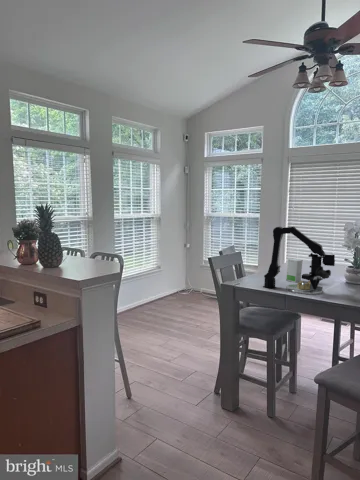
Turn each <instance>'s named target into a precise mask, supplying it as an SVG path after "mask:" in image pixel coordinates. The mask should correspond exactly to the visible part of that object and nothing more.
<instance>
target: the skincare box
mask: <svg viewBox="0 0 360 480" xmlns="http://www.w3.org/2000/svg"><path fill="white" fill-rule="evenodd" d="M286 265H287V266H286V277H285V281H288V282H292V283H298V282H300V281H302V280H301V279H302V269H303V259H298V258H287V264H286Z"/></svg>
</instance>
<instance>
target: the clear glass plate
mask: <svg viewBox="0 0 360 480" xmlns="http://www.w3.org/2000/svg"><path fill="white" fill-rule="evenodd" d="M307 282H310V280H307ZM305 283H306V282H304V281H303V282H302V285H305ZM297 284H298V283H297ZM297 284H296V283H295V284H288V285H285V290H286V291H288V292H291V293H295V294H299V295H300V294H301V295H320V294H322V293H323V289H322V291H318V290H312V289H306V290H305V289H299V288H297Z"/></svg>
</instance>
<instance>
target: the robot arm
mask: <svg viewBox="0 0 360 480" xmlns="http://www.w3.org/2000/svg"><path fill="white" fill-rule="evenodd" d="M286 234H292V235H293V236H294V237H296V238H297V239H298V240H299V241H301V242H302V243H303V244H305V245H306V246H307V248H309V250H310V251H311V253H310V254H308V255H307V256H308V258H311V259H310V261H311V263H310V265H309V268H310V271H309V272H308V273H302V274H301V279H302V280H307V281H310V282H311V284H312V287H313V289H314V290H316V288H317V286H319V283H320V281H323V280H325V279H328V278H330V277H331V274H332V271H331V270H330V269H324V266H328V267H330V266H331V267H334V266H335V265H336V264H335V263H336V260H335V259H336V257H335V255H336V254H326V252H325V251H324V250H323V246H322V244H320V243H318V242H317V241H315V240H312V239H311V238H309V237H308V236H307V235H305V234H304V233H303V232H301V231H300V230H299V229H297V228H296V226H288V227H282V226H276V227H274V228H273V231H272V237H273V244H272V245H273V247H272V254H271V262H270V264H269V266H268V270H267V273H265V274H264V276H263V277H264V284H263V285H262V287H263V288H265V289H269V290H270V289H277V288H278V287H277V286H276V276H278V274H279V273H281V270H280V269H281V265H279V257H280V249H281V242H282V240H283V236H284V235H286ZM322 264H323V265H324V266H322Z"/></svg>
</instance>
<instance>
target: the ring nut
mask: <svg viewBox="0 0 360 480" xmlns="http://www.w3.org/2000/svg"><path fill="white" fill-rule="evenodd" d="M302 282H304V280H301V281H300V282H297V288H299V289H305V290H306V289H312V290H314V289H313V287H312V284H311V282H308V281H307V282H304V283H305V285H302ZM316 290H318V291H322V290H323V286H322V285H321V286H320V285H318V286H317V288H316ZM322 292H323V291H322Z"/></svg>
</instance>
